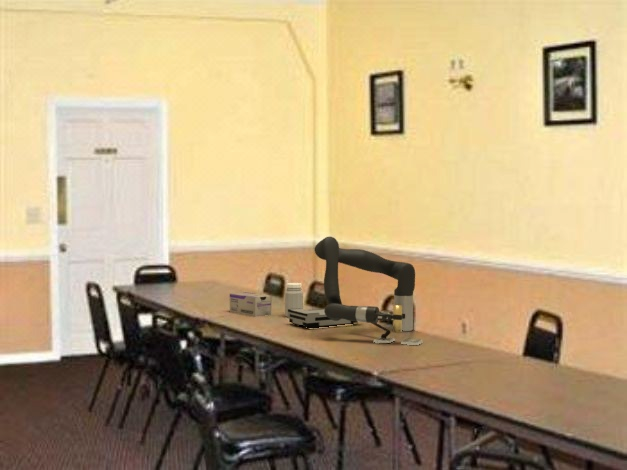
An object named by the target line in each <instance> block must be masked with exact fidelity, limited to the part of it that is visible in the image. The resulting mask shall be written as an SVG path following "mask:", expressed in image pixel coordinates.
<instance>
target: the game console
mask: <svg viewBox="0 0 627 470" xmlns="http://www.w3.org/2000/svg"><path fill="white" fill-rule="evenodd" d="M324 310H325V308H320V309H319V308H318V309H304V308H303V309H300V308H298V309H288V317H287V319H289V321H288V322H289V323H292V325H293V324H295V325H294V326H296V325H303V326H302V327H304V328H305V327H307V328H319V327H329V326H337V325H345V324H357V323H359V322H358V321H349V320H346V319H340V320H339V321H334V320H332V319H330V318H328V317H327V316H326V315H325V312H324ZM307 328H306V329H307Z"/></svg>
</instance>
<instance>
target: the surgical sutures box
mask: <svg viewBox="0 0 627 470" xmlns="http://www.w3.org/2000/svg"><path fill="white" fill-rule="evenodd" d="M229 312H230V313H231V314H232V313H234V314H238V315H243V316H248V317H253V318H257V317H266V316H265V315H268V316H272V295H267V294H261V293H255V292H254V293H253V292H246V291H243V292H242V291H241V292H234V293H233V292H232V293H231V292H230V293H229Z"/></svg>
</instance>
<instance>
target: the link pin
mask: <svg viewBox="0 0 627 470" xmlns="http://www.w3.org/2000/svg"><path fill="white" fill-rule="evenodd" d="M392 307H393V308H392V312H393V314H395V315H402V305H394V304H393V306H392ZM392 333H399V334H400V333H403V331H402V320H392Z"/></svg>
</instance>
